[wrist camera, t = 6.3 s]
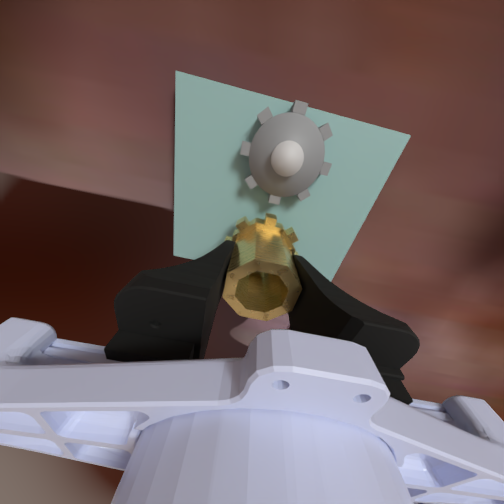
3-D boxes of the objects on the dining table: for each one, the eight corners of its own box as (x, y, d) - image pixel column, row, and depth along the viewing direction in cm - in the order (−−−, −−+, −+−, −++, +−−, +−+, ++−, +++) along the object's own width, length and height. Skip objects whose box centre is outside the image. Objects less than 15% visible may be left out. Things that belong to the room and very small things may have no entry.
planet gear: (284, 282, 15) (294, 336, 11) (220, 269, 15) (203, 318, 10) (308, 222, 13) (334, 260, 8) (231, 204, 12) (215, 234, 8)
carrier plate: (324, 280, 18) (340, 312, 14) (178, 250, 17) (156, 276, 13) (399, 136, 12) (458, 130, 8) (182, 77, 11) (145, 42, 7)
